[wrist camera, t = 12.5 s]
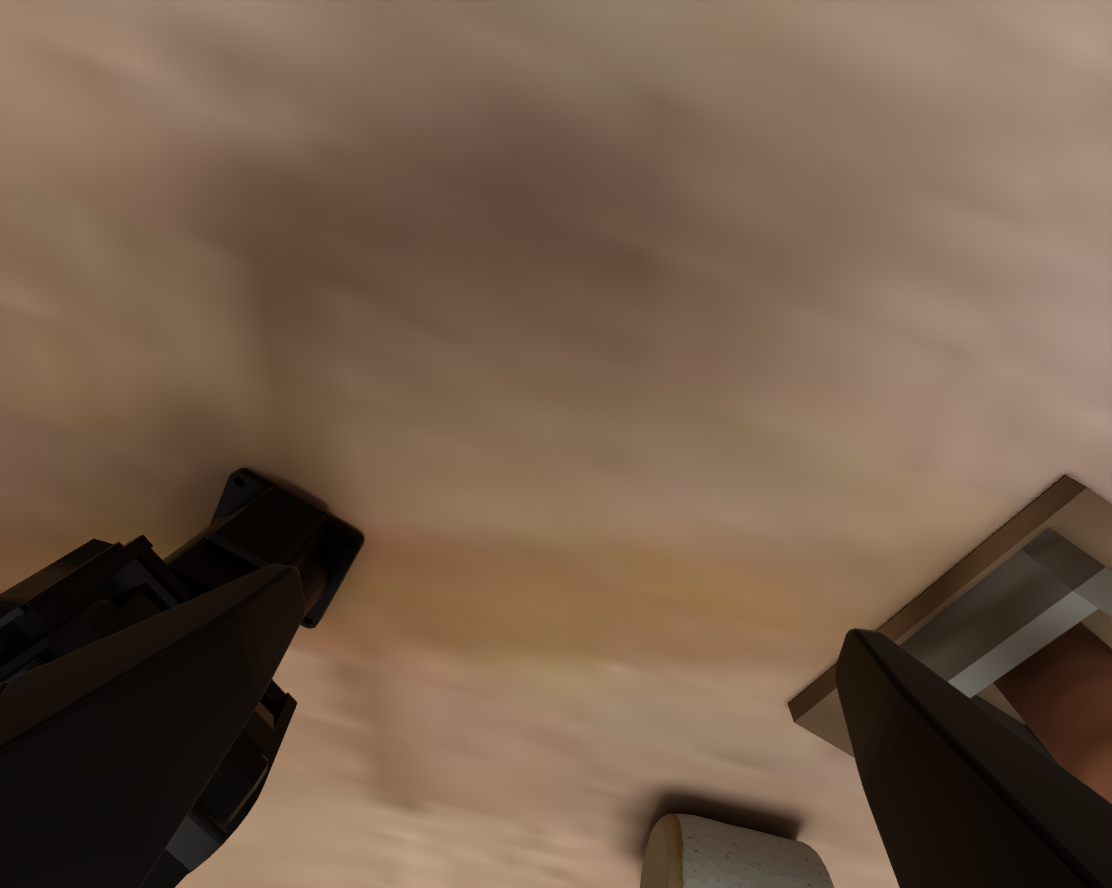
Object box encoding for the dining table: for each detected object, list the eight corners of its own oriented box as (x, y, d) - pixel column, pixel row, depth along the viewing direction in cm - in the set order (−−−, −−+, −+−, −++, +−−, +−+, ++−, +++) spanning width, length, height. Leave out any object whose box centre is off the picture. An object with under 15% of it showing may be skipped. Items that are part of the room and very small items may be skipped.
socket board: (1004, 832, 27) (1055, 914, 24) (787, 704, 25) (811, 773, 22) (1319, 655, 21) (1443, 731, 18) (1065, 475, 20) (1151, 523, 17)
